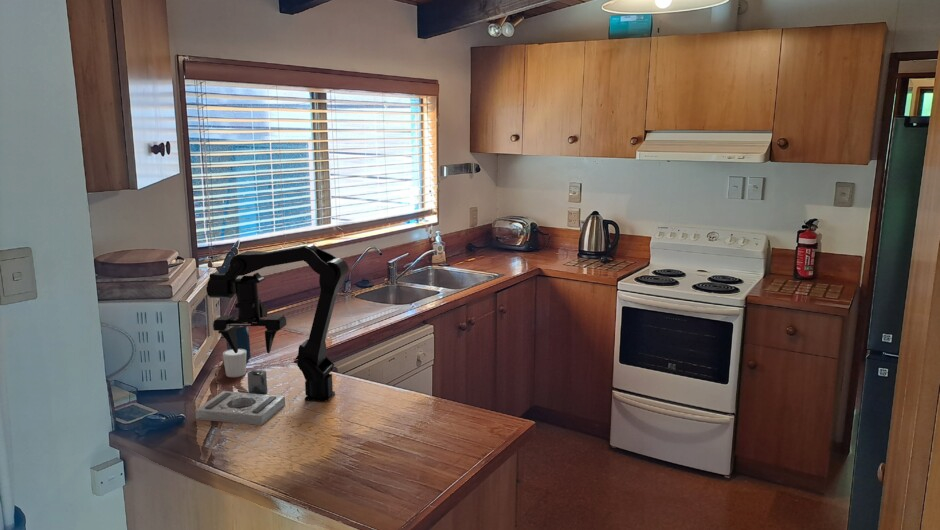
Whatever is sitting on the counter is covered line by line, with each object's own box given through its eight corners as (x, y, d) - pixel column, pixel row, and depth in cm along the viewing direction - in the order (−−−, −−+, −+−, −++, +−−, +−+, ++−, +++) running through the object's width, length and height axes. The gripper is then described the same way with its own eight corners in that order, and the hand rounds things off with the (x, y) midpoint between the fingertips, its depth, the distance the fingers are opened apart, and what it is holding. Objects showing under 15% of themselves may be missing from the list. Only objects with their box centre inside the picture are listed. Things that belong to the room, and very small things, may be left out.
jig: (285, 404, 181) (284, 395, 181) (261, 425, 169) (261, 414, 168) (223, 399, 184) (222, 390, 184) (196, 419, 172) (195, 408, 171)
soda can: (254, 357, 219) (252, 322, 216) (245, 365, 212) (242, 328, 209) (233, 356, 219) (231, 321, 217) (223, 364, 212) (221, 327, 210)
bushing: (270, 391, 191) (269, 370, 190) (262, 397, 186) (260, 376, 185) (254, 389, 192) (253, 369, 191) (245, 396, 187) (244, 375, 186)
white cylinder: (223, 379, 200) (221, 356, 198) (224, 371, 206) (223, 349, 205) (247, 376, 202) (246, 354, 200) (248, 369, 208) (247, 347, 207)
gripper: (290, 291, 191) (295, 343, 194) (227, 291, 193) (232, 343, 196) (277, 300, 180) (281, 356, 183) (209, 301, 182) (215, 356, 185)
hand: (252, 352), depth 187 cm, fingers open, 9 cm apart
